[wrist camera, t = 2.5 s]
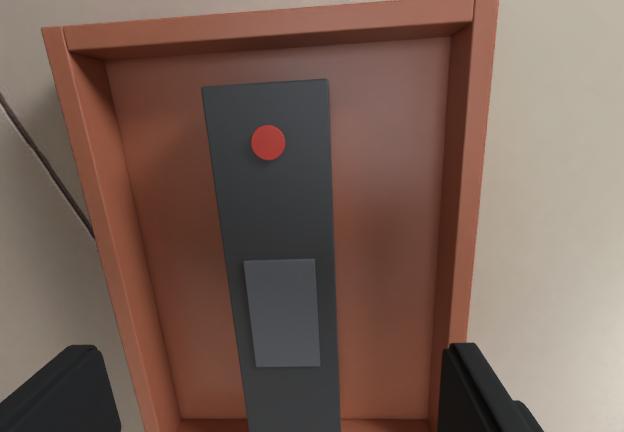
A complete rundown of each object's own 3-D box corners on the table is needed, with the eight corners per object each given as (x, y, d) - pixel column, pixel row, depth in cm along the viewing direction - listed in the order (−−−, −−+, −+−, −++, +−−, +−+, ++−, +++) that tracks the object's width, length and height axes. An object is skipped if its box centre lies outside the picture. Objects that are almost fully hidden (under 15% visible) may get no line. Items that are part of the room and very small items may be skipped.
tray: (175, 420, 20) (152, 464, 17) (91, 44, 14) (39, 27, 11) (437, 420, 19) (454, 467, 16) (467, 16, 13) (500, -9, 10)
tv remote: (260, 398, 18) (249, 445, 15) (223, 92, 13) (197, 85, 11) (339, 397, 18) (341, 446, 15) (328, 86, 13) (328, 77, 11)
